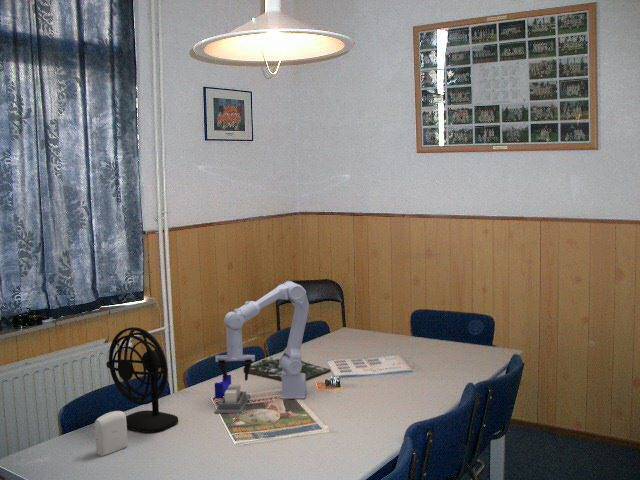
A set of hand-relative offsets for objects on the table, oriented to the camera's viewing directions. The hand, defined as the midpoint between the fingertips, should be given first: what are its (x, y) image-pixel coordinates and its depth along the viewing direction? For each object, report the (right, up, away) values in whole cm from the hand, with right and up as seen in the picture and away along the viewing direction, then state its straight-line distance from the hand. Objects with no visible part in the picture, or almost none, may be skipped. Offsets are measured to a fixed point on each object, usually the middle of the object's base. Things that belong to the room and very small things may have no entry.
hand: (236, 379), depth 270 cm
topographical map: (+17, -5, +43) cm, 47 cm away
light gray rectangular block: (-1, -9, -3) cm, 10 cm away
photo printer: (-35, -15, -41) cm, 55 cm away
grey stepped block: (-1, -9, +1) cm, 9 cm away
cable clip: (-7, -8, +14) cm, 18 cm away
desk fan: (-29, -12, -18) cm, 36 cm away
